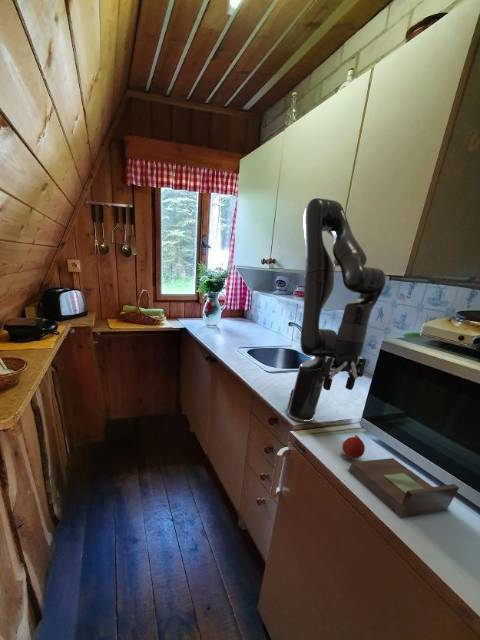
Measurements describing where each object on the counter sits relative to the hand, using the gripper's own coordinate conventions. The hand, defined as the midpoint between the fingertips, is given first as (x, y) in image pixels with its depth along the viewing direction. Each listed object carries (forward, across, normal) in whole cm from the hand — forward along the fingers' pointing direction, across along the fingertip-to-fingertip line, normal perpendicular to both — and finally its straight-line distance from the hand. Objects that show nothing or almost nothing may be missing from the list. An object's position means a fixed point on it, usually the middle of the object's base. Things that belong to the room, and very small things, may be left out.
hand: (337, 389), depth 96 cm
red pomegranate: (+18, 0, +11) cm, 21 cm away
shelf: (+19, -2, +25) cm, 31 cm away
